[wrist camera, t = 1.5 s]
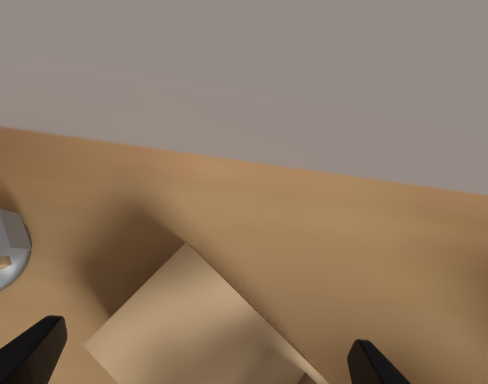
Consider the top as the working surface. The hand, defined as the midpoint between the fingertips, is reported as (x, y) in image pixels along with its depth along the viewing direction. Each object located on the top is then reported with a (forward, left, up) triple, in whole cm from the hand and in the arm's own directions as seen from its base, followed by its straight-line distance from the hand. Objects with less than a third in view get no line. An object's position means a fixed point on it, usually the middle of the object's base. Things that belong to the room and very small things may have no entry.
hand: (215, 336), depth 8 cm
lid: (-3, -3, -10) cm, 10 cm away
